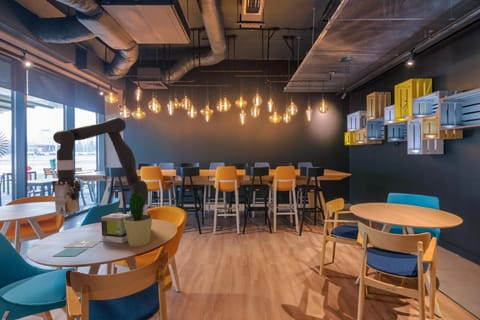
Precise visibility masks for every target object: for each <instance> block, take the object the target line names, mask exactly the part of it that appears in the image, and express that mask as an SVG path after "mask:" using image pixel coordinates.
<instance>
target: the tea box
mask: <svg viewBox="0 0 480 320" xmlns="http://www.w3.org/2000/svg"><path fill="white" fill-rule="evenodd" d="M129 216H132V213H115V212H114V213H110V214H106V215H104V216H101V217H100V223H101V238H102V239H101V242H109V243H117V244H118V243H119V244H123V243H126V242H128V238H127V234H126V229H125V224H124V218H126V217H129Z"/></svg>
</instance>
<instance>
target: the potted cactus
mask: <svg viewBox="0 0 480 320" xmlns="http://www.w3.org/2000/svg"><path fill="white" fill-rule="evenodd" d="M135 192H136V191H135ZM128 205H129V207H128V210H130V211H129V212H130V214H132V216H129V217H126V218H124V224H125V229H126V234H127V238H128V241H127V242H128V245H129V247H133V248H134V247H135V248H137V247H143V246H147V245H148V244H150V242H151V234H152V233H151V231H152V225H153V224H152V223H153V215H151V214H148V213H147V214H143V207H144V206H145V199H144V197H143V195H141V194H140V193H139V192H137V193H132V195H130V196H129V203H128Z"/></svg>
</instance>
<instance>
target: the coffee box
mask: <svg viewBox="0 0 480 320" xmlns="http://www.w3.org/2000/svg"><path fill="white" fill-rule="evenodd" d="M70 186H71V187H75V184H72V185H71V184H70V183H69V184H65V183H63V184H54V192H53V193H54V205H55V215H56V216H68V215H72V214H74V213H78V212H80V194H79V193H80V191H79V192H77V199H76V200H72V192H71V190H70ZM73 190H74V189H73Z"/></svg>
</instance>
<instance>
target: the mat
mask: <svg viewBox="0 0 480 320" xmlns="http://www.w3.org/2000/svg"><path fill="white" fill-rule="evenodd" d="M88 248H89V247H79V248H64V249H63V250H61V251H59V252H58V253H56V254H54V255H52V257H53V258H55V257H58V258H59V257H60V258H61V257H62V258H63V257H65V258H66V257H68V258H69V257H78V255H80V254H82V253H84V252H85V251H86V250H88Z"/></svg>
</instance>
